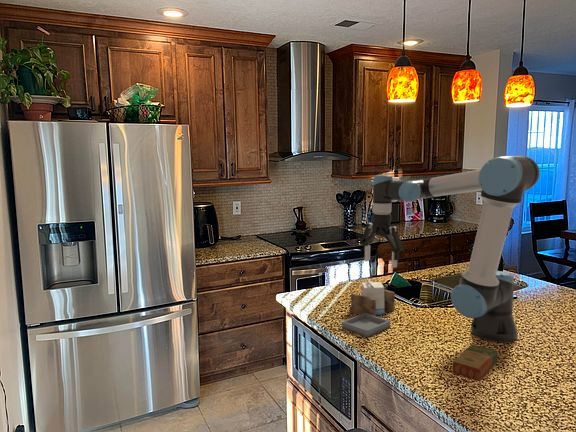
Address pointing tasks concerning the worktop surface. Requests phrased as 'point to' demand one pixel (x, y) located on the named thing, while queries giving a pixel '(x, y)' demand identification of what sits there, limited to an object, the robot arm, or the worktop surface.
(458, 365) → the carton
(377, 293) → the ink box
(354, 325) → the tray
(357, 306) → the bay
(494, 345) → the worktop surface
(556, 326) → the worktop surface
